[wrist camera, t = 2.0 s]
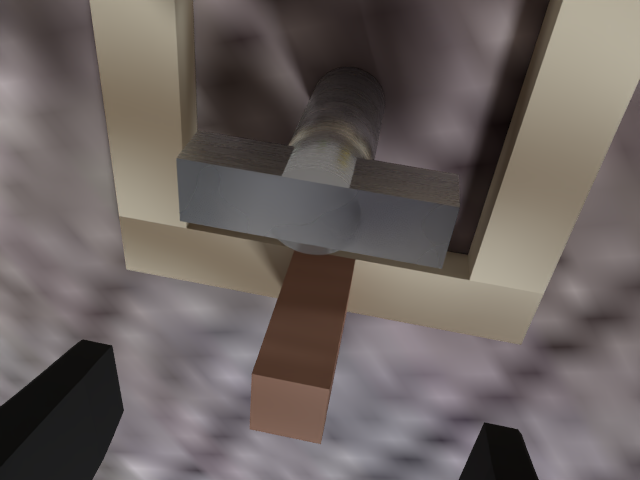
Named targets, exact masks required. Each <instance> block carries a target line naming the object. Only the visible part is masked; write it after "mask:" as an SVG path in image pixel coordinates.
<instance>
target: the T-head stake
mask: <svg viewBox="0 0 640 480" xmlns="http://www.w3.org/2000/svg"><path fill="white" fill-rule="evenodd" d="M384 109H385V97H384V93H383V90H382V88H381V86H380V84H379V83H378V82H377V80H376V79H375V78H374V77H373V76H371V75H370V74H369V73H367V72H365V71H363V70H361V69H358V68H353V67H343V68H338V69H335V70H332V71H330V72H329V73H327V74H326V75H324V76H323V77H322V78H321V80H320V81H319V82H318V84H317V86H316V88H315V90H314V92H313V94H312V96H311V98H310V100H309V103H308V105H307V107H306V109H305V111H304V113H303V115H302V117H301V120H300V122H299V124H298V126H297V128H296V130H295V132H294V134H293V136H292V139H291V141H290V143H289V145H288V146H287V145H282V144H276V143H270V142H264V141H258V140H252V139H246V138H240V137H234V136H229V135H223V134H217V133H211V132H205V131H199V130H198V131H197V132H196V133H195V135H194V136H193V137H192V139H191V140H190V141H189V142H188V144H187V145H186V146H185V147H184V149H183V150H182V151H181V153H180V154H179V155H178V156H177V158H176V164H177V180H178V197H179V213H180V221H183V222H188V223H194V224H199V225H204V226H210V227H215V228H221V229H226V230H232V231H237V232H243V233H248V234H254V235H259V236H265V237H270V238H276V239H278V240H279V241H280V242H282V243H283V244H284V245H286V246H288V247H289V248H291V249H293V250H296V251H298V252H301V253H305V254H311V255H326V254H331V253H334V252H337V251H340V250H341V251H347V252H352V253H358V254H363V255H369V256H374V257H379V258H385V259H390V260H396V261H401V262H407V263H412V264H418V265H423V266H429V267H434V268H440V269H442V267H443V263H444V260H445V256H446V253H447V250H448V246H449V243H450V239H451V236H452V233H453V229H454V226H455V222H456V219H457V215H458V212H459V209H460V200H459V177H458V174H452V173H447V172H441V171H435V170H429V169H423V168H417V167H411V166H405V165H399V164H394V163H388V162H382V161H376V160H374V159H375V154H376V149H377V144H378V139H379V134H380V129H381V124H382V119H383V114H384Z"/></svg>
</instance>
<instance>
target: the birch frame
mask: <svg viewBox="0 0 640 480" xmlns="http://www.w3.org/2000/svg"><path fill="white" fill-rule="evenodd" d="M90 7H91V15H92V22H93V29H94V37H95V44H96V51H97V58H98V66H99V73H100V80H101V87H102V95H103V102H104V109H105V117H106V124H107V131H108V138H109V146H110V153H111V160H112V167H113V175H114V182H115V189H116V197H117V204H118V211H119V218H120V226H121V233H122V240H123V248H124V255H125V262H126V269H127V270H133V271H138V272H143V273H148V274H154V275H159V276H164V277H169V278H174V279H180V280H185V281H190V282H195V283H201V284H206V285H211V286H216V287H222V288H227V289H232V290H237V291H242V292H248V293H253V294H258V295H263V296H269V297H274V298H278V299H277V302H276V305H275V308H274V311H273V314H272V317H271V320H270V323H269V326H268V328H267V331H266V334H265V337H264V340H263V343H262V346H261V349H260V352H259V355H258V358H257V360H256V363H255V366H254V369H253V372H252V384H251V410H250V429H251V430H256V431H261V432H266V433H271V434H275V435H280V436H285V437H290V438H294V439H299V440H304V441H309V442H313V443H318V444H321V440H322V435H323V430H324V425H325V420H326V415H327V410H328V404H329V399H330V394H331V389H332V384H333V379H334V374H335V369H336V364H337V358H338V353H339V348H340V343H341V338H342V333H343V328H344V323H345V317H346V312H352V313H358V314H363V315H368V316H373V317H379V318H384V319H389V320H394V321H399V322H405V323H410V324H415V325H420V326H426V327H431V328H436V329H441V330H447V331H452V332H457V333H462V334H467V335H473V336H478V337H483V338H488V339H494V340H499V341H504V342H509V343H515V344H520V345H521V344H522V341H523V339H524V337H525V335H526V332H527V330H528V328H529V326H530V324H531V321H532V319H533V317H534V315H535V312H536V310H537V308H538V306H539V303H540V301H541V299H542V297H543V294H544V292H545V290H546V288H547V285H548V283H549V281H550V279H551V276H552V274H553V272H554V270H555V267H556V265H557V263H558V261H559V259H560V256H561V254H562V252H563V250H564V247H565V245H566V243H567V241H568V238H569V236H570V234H571V232H572V229H573V227H574V225H575V223H576V220H577V218H578V216H579V214H580V211H581V209H582V207H583V205H584V202H585V200H586V198H587V196H588V193H589V191H590V189H591V187H592V185H593V182H594V180H595V178H596V176H597V173H598V171H599V169H600V167H601V164H602V162H603V160H604V158H605V155H606V153H607V151H608V149H609V146H610V144H611V142H612V140H613V137H614V135H615V133H616V131H617V128H618V126H619V124H620V122H621V120H622V117H623V115H624V113H625V111H626V108H627V106H628V104H629V102H630V99H631V97H632V95H633V93H634V90H635V88H636V86H637V84H638V81H639V79H640V0H550V2H549V5H548V8H547V11H546V14H545V17H544V20H543V23H542V26H541V30H540V33H539V36H538V39H537V42H536V45H535V48H534V51H533V54H532V58H531V61H530V64H529V67H528V70H527V73H526V76H525V79H524V82H523V85H522V89H521V92H520V95H519V98H518V101H517V104H516V107H515V110H514V113H513V117H512V120H511V123H510V126H509V129H508V132H507V135H506V138H505V141H504V145H503V148H502V151H501V154H500V157H499V160H498V163H497V166H496V169H495V173H494V176H493V179H492V182H491V185H490V188H489V191H488V194H487V197H486V201H485V204H484V207H483V210H482V213H481V216H480V219H479V222H478V225H477V229H476V232H475V235H474V238H473V241H472V244H471V247H470V250H469V253H468V255H465V254H460V253H454V252H449V251H447V253H446V256H445V260H444V263H443V267H442V269H440V268H434V267H429V266H423V265H418V264H412V263H407V262H401V261H396V260H390V259H385V258H379V257H374V256H369V255H363V254H358V253H352V252H347V251H341V250H340V251H337V252H334V253H331V254H326V255H311V254H305V253H301V252H298V251H296V250H293V249H291V248H289V247H288V246H286V245H284V244H283V243H282V242H280V241H279V240H278V239H276V238H270V237H265V236H259V235H254V234H248V233H243V232H237V231H232V230H226V229H221V228H215V227H210V226H204V225H199V224H194V223H188V222H183V221H180V213H179V197H178V180H177V164H176V158H177V156H178V155H179V154H180V153H181V151H182V150H183V149H184V147H185V146H186V145H187V144H188V142H189V141H190V140H191V139H192V137H193V136H194V135H195V133H196V132H197V104H196V75H195V45H194V16H193V0H90Z"/></svg>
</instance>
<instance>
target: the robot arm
mask: <svg viewBox="0 0 640 480" xmlns="http://www.w3.org/2000/svg"><path fill="white" fill-rule="evenodd" d="M123 411H124V409H123V403H122V398H121V392H120V386H119V381H118V375H117V369H116V364H115V358H114V353H113V347H112V345H107V344H102V343H97V342H92V341H88V340H81V341H80V342H78V343H77V344H76V345H74V346H73V347H72V348H71V349H70V350H68V351H67V352H66V353H65V354H64V355H62V356H61V357H60V358H59V359H58V360H56V361H55V362H54V363H53V364H52V365H51V366H49V367H48V368H47V369H46V370H45V371H43V372H42V373H41V374H40V375H39V376H37V377H36V378H35V379H34V380H33V381H31V382H30V383H29V384H28V385H27V386H25V387H24V388H23V389H22V390H20V391H19V392H18V393H17V394H16V395H14V396H13V397H12V398H11V399H9V400H8V401H7V402H6V403H4V404H3V405H2V406H0V480H92V479H93V477H94V476H95V474H96V472H97V470H98V468H99V466H100V465H101V463H102V461H103V459H104V457H105V454H106V452H107V450H108V447H109V445H110V443H111V441H112V438H113V436H114V433H115V431H116V428H117V426H118V424H119V421H120V419H121V416H122V414H123ZM459 480H539V479H538V477H537V474H536V472H535V469H534V467H533V464H532V461H531V459H530V456H529V453H528V451H527V448H526V445H525V442H524V440H523V437H522V434H521V433H520V432H519V430H518V429H514V428H509V427H504V426H499V425H494V424H490V423H485V422H484V424H483V426H482V429H481V431H480V433H479V435H478V438H477V440H476V442H475V444H474V447H473V449H472V451H471V453H470V456H469V458H468V460H467V462H466V465H465V467H464V469H463V471H462V474H461V476H460V478H459Z"/></svg>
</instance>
